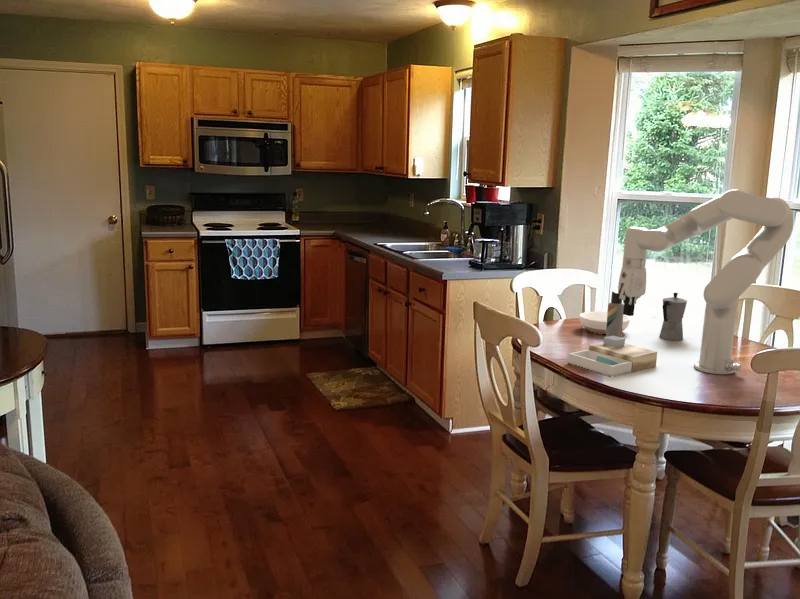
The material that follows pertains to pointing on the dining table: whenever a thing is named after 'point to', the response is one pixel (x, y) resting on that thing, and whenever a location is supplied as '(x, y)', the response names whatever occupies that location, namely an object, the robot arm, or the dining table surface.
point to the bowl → (598, 321)
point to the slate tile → (614, 341)
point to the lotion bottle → (615, 316)
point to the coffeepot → (673, 318)
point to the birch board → (629, 354)
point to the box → (599, 363)
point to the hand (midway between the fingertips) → (628, 314)
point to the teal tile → (605, 360)
